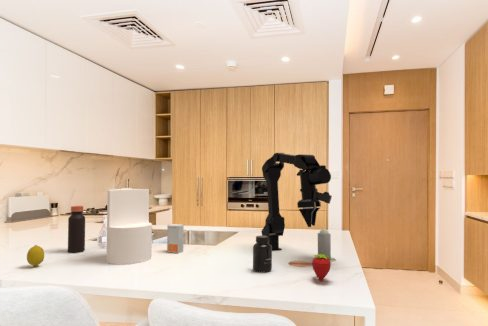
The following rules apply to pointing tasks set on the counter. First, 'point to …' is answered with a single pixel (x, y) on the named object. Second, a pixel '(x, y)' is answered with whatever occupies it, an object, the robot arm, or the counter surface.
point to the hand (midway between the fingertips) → (311, 226)
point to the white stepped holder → (128, 226)
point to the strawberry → (321, 266)
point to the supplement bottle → (262, 254)
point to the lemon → (35, 255)
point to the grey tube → (324, 243)
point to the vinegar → (76, 230)
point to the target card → (304, 263)
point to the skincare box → (175, 238)
